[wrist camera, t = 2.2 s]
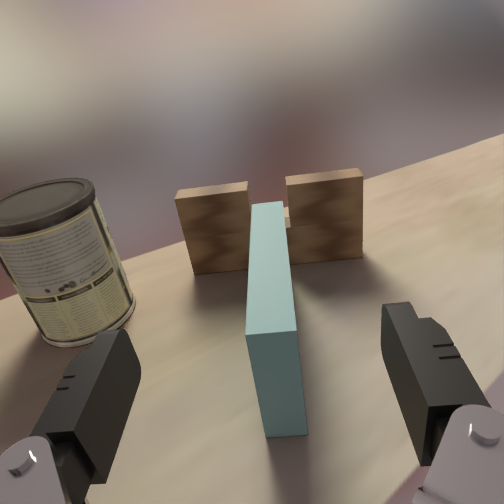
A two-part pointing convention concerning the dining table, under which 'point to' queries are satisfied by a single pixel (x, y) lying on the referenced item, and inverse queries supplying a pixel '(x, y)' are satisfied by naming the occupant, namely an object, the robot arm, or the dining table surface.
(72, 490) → the robot arm
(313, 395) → the dining table surface
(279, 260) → the cross plate
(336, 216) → the base plate
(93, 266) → the coffee can
